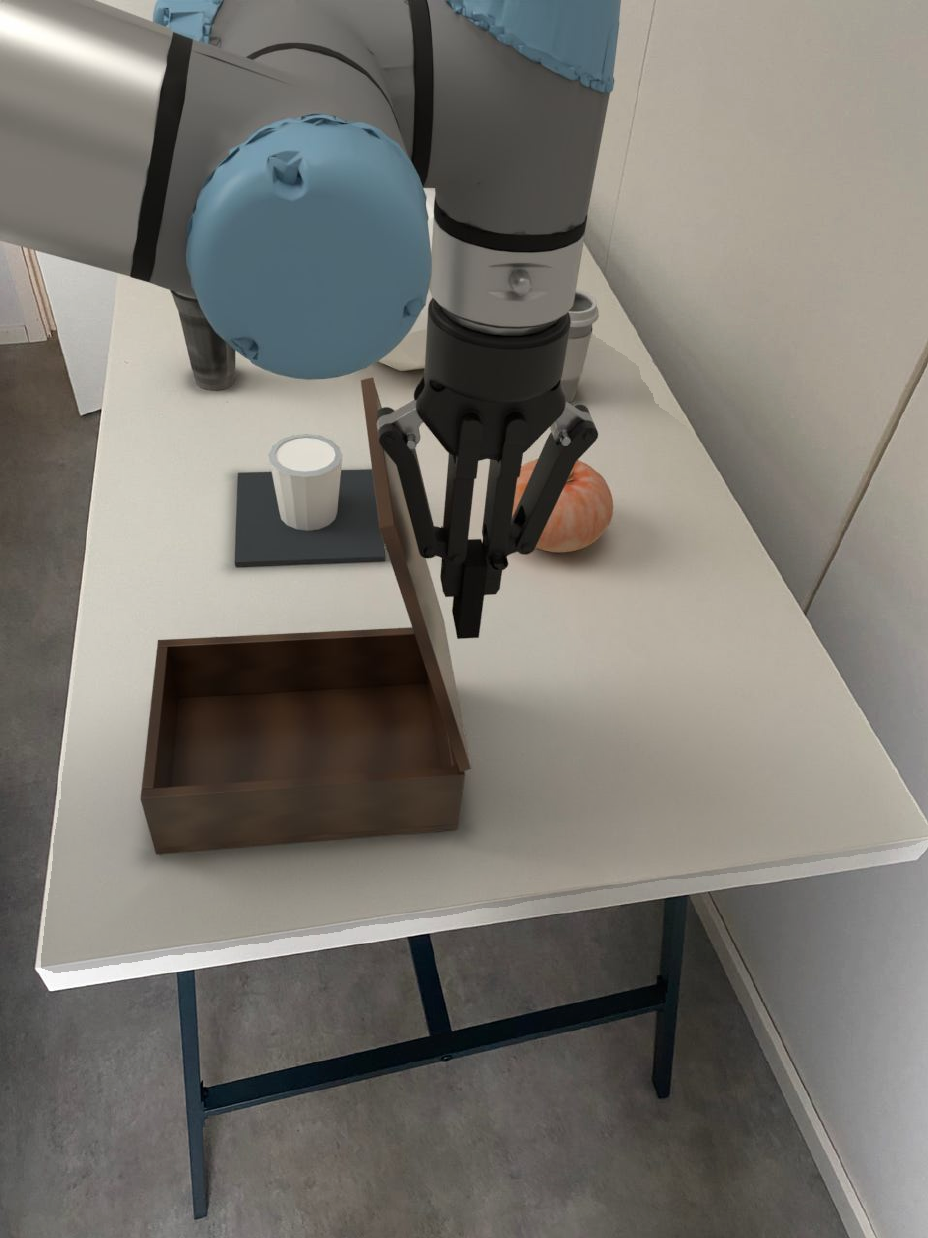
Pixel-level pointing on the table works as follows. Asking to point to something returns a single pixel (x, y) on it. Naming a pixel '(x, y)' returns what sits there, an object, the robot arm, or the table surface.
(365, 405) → the chest lid
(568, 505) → the tomato
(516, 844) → the table surface
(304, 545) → the drying mat
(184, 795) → the chest
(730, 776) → the table surface
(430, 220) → the ball
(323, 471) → the white grey-rimmed cylinder
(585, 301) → the cup
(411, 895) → the table surface
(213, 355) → the beverage cup
